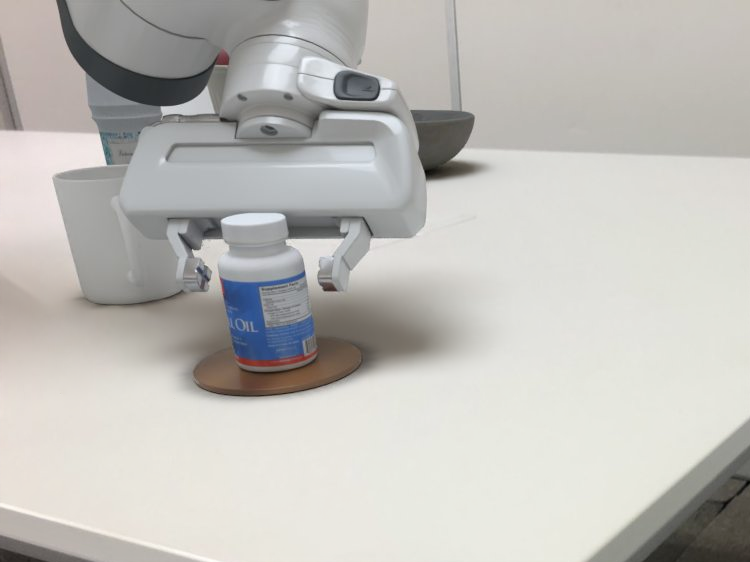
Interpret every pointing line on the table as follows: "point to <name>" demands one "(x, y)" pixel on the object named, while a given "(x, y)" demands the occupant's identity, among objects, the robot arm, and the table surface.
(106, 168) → the cup
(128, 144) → the bottle
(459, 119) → the bowl
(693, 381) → the table surface
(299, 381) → the coaster
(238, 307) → the pill bottle
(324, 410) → the table surface
